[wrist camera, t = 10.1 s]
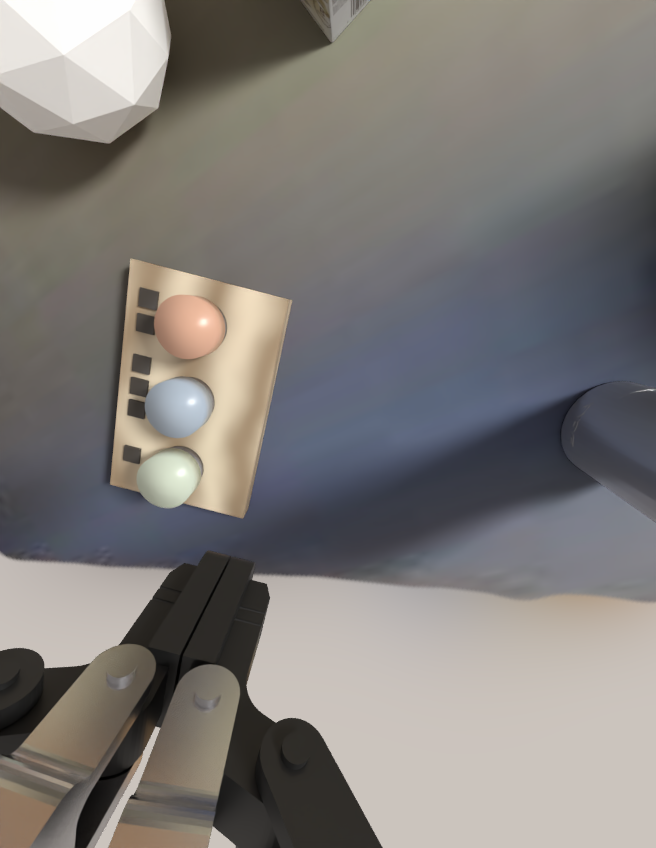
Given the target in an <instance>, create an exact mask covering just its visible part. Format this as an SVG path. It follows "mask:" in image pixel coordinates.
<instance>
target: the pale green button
mask: <svg viewBox="0 0 656 848" xmlns="http://www.w3.org/2000/svg"><path fill="white" fill-rule="evenodd" d="M136 480H137V486H138V488H139V491H140V492H141V494H142V495H143V497H144V498H145V499H146V500H147V501H149V502H150V503H152V504H153V505H156V506H158V507H162V508H174V507H177V506H179V505H181V504H183V503H184V502H185V501H186V500H187V499H188V497H189V496H190V495H191V494H192V493H193V492H194V491H195V490H196V488H197V487H198V485H199V483H200V480H201V471H200V467H199V465H198V463H197V461H196V460H195V459H194V457H193V456H192V455H190V454H189V453H187V452H186V451H184V450H181V449H178V448H166V449H163V450H161V451H159V452H158V453H156V454H155V455H154V456H152V457H151V458H149V459H148V460H147V461H145V462H144V463H143V464H142V465H141V466H140V468H139V470H138V472H137V479H136Z"/></svg>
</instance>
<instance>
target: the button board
mask: <svg viewBox="0 0 656 848" xmlns="http://www.w3.org/2000/svg"><path fill="white" fill-rule="evenodd" d="M174 295H193V296H201V297H204V298H206V299H208V300H210V301H211V302H212V303H214V304H215V305H216V306H217V307H218V309H219V310H220V312H221V314H222V316H223V318H224V322H225V336H224V339H223V341H222V343H221V345H220V346H219V347H218V348H217V349H216V350H215V351H214V352H212V353H211V354H208V355H205V356H202V357H198V358H195V359H181V358H178V357H176V356H173V355H172V354H170V353H169V352H167V351H166V350H165V349H164V348H163V347H162V345H161V344H160V342H159V341H158V339H157V336H156V333H155V329H154V318H155V314H156V311H157V309H158V307H159V306H160V304H161V303H162V302H163V301H165V300H166V299H167V298H169V297H171V296H174ZM291 304H292V300H289V299H285V298H281V297H277V296H274V295H270V294H266V293H262V292H258V291H254V290H251V289H247V288H243V287H239V286H235V285H231V284H228V283H224V282H220V281H216V280H212V279H208V278H205V277H201V276H197V275H193V274H189V273H185V272H182V271H178V270H174V269H170V268H166V267H162V266H159V265H155V264H151V263H147V262H143V261H139V260H134V259H131V260H130V271H129V282H128V293H127V304H126V315H125V326H124V337H123V348H122V359H121V370H120V381H119V392H118V403H117V414H116V425H115V436H114V447H113V458H112V469H111V480H110V485H114V486H118V487H122V488H126V489H130V490H133V491H137V492H140V491H139V488H138V486H137V480H136V479H137V472H138V470H139V468H140V466H141V465H142V464H143V463H144V462H145V461H147V460H148V459H149V458H151V457H152V456H154V455H155V454H156V453H158V452H159V451H161V450H163V449H166V448H178V449H181V450H184V451H186V452H187V453H189V454H190V455H192V456H193V457H194V459H195V460H196V461H197V463H198V465H199V467H200V471H201V480H200V483H199V485H198V487H197V488H196V490H195V491H194V492H193V493H192V494H191V495H190V496H189V497H188V499H187V500H186V501H185V502H184V504H188V505H192V506H196V507H200V508H204V509H208V510H211V511H215V512H219V513H223V514H227V515H231V516H235V517H239V518H244V516H245V514H246V512H247V510H248V507H249V502H250V498H251V493H252V488H253V484H254V479H255V474H256V469H257V465H258V460H259V455H260V450H261V446H262V441H263V436H264V431H265V427H266V422H267V417H268V413H269V408H270V403H271V398H272V394H273V389H274V384H275V379H276V375H277V370H278V365H279V361H280V356H281V351H282V346H283V342H284V337H285V332H286V327H287V323H288V318H289V313H290V308H291ZM178 376H186V377H190V378H193V379H195V380H197V381H199V382H200V383H201V384H203V385H204V386H205V388H206V389H207V390H208V392H209V394H210V396H211V399H212V413H211V416H210V418H209V420H208V421H207V422H206V423H205V424H204V425H203V426H202V427H200V428H199V429H198V430H196V431H195V432H194V433H192V434H191V435H189V436H187V437H183V438H171V437H168V436H165V435H163V434H161V433H160V432H158V431H157V430H156V429H155V428H154V427H153V426H152V425H151V424H150V422H149V420H148V418H147V416H146V412H145V399H146V396H147V394H148V392H149V391H150V390H151V389H152V387H154V386H155V385H157V384H158V383H161V382H163V381H166V380H169V379H171V378H174V377H178Z"/></svg>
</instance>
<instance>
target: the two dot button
mask: <svg viewBox="0 0 656 848" xmlns="http://www.w3.org/2000/svg"><path fill="white" fill-rule="evenodd" d="M154 329H155V333H156V336H157V339H158V341H159V342H160V344H161V345H162V347H163V348H164V349H165V350H166V351H167V352H169V353H170V354H172V355H173V356H176V357H178V358H181V359H195V358H198V357H202V356H205V355H208V354H211V353H212V352H214V351H215V350H216V349H217V348H218V347H219V346H220V345H221V343H222V341H223V339H224V336H225V322H224V318H223V316H222V314H221V312H220V310H219V309H218V307H217V306H216V305H215V304H214V303H212V302H211V301H210V300H208V299H206V298H204V297H201V296H193V295H174V296H171V297H169V298H167V299H166V300H165V301H163V302H162V303H161V304H160V306H159V307H158V309H157V311H156V314H155V318H154Z"/></svg>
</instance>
